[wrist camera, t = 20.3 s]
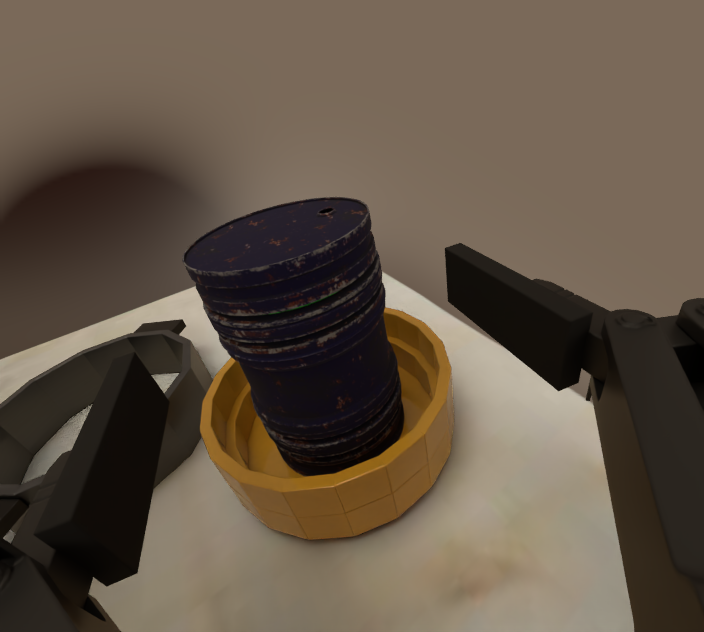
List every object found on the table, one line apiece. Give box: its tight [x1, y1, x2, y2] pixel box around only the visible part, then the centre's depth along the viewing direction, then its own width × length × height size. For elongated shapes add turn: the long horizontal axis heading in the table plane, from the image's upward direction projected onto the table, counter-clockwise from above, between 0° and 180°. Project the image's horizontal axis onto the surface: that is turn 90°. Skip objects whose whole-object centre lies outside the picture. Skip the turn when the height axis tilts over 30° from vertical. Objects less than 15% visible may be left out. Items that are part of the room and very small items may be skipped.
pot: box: [0, 319, 213, 538], centre depth 29 cm, size 21×16×5 cm
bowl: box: [200, 307, 454, 540], centre depth 25 cm, size 16×16×6 cm
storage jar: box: [182, 197, 404, 477], centre depth 22 cm, size 10×10×15 cm
